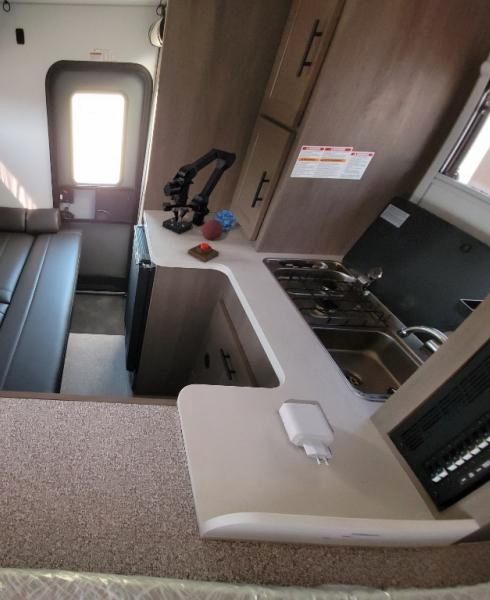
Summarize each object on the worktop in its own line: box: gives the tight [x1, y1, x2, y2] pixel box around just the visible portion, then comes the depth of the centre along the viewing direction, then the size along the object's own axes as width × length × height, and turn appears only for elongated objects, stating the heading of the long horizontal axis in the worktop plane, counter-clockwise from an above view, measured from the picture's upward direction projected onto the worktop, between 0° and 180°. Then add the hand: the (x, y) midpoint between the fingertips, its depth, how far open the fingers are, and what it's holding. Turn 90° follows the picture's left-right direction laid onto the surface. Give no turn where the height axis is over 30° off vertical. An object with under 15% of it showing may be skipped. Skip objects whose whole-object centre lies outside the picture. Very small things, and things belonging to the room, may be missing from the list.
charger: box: [278, 402, 336, 467], centre depth 82 cm, size 5×9×15 cm
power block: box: [187, 243, 220, 263], centre depth 155 cm, size 10×10×4 cm
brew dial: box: [176, 213, 181, 225], centre depth 175 cm, size 5×1×4 cm, turn 5°
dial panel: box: [161, 216, 193, 235], centre depth 177 cm, size 10×12×3 cm
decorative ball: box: [201, 219, 224, 241], centre depth 165 cm, size 10×10×10 cm
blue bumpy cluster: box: [213, 209, 237, 232], centre depth 171 cm, size 12×7×12 cm, turn 88°
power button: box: [200, 242, 210, 250], centre depth 153 cm, size 4×4×2 cm
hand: (177, 221), depth 176 cm, fingers closed on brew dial
